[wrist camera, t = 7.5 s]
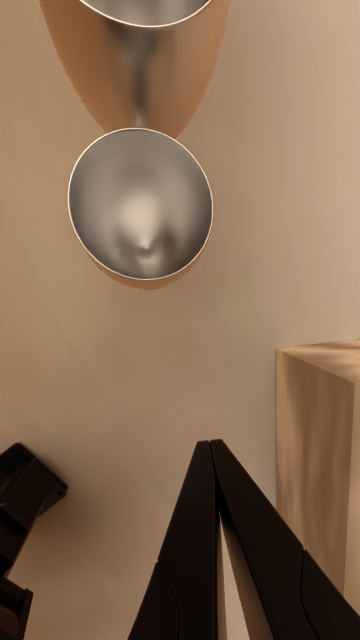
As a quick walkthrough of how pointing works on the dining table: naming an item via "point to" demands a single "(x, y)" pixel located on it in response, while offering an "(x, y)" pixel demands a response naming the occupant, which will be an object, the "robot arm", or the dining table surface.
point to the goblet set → (139, 130)
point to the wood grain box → (321, 455)
